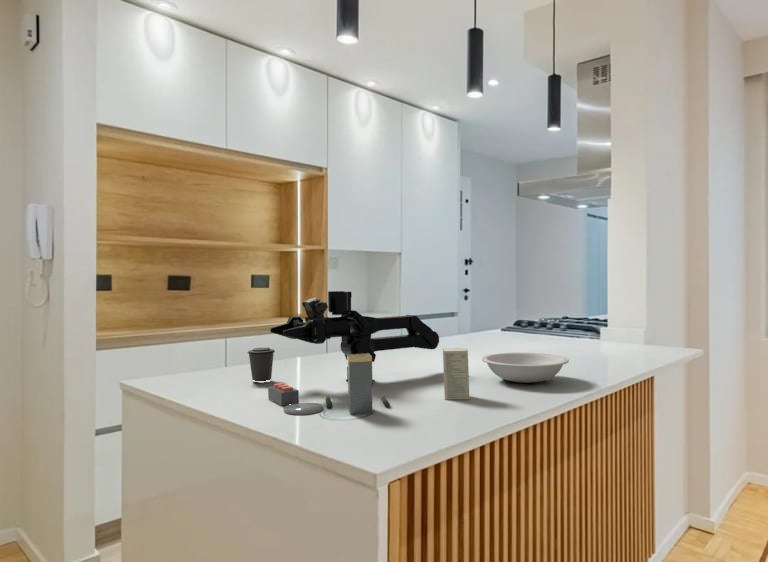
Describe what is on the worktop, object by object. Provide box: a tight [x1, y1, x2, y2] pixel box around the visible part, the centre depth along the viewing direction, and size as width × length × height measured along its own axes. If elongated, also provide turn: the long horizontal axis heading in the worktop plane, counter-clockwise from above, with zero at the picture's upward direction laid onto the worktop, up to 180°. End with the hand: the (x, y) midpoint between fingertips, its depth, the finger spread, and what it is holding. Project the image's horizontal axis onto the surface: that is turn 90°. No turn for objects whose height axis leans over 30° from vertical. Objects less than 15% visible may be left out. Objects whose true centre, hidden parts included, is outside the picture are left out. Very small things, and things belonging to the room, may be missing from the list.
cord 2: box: [380, 395, 391, 408], centre depth 125 cm, size 7×1×1 cm, turn 8°
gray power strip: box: [267, 382, 300, 407], centre depth 130 cm, size 9×4×4 cm, turn 33°
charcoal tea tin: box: [347, 354, 373, 416], centre depth 119 cm, size 5×5×13 cm
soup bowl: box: [481, 352, 569, 384], centre depth 149 cm, size 24×24×7 cm
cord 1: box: [325, 396, 332, 409], centre depth 125 cm, size 7×1×1 cm, turn 8°
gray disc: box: [283, 402, 324, 416], centre depth 121 cm, size 9×9×1 cm
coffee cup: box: [247, 347, 276, 381], centre depth 156 cm, size 8×8×10 cm
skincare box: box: [442, 347, 470, 400], centre depth 130 cm, size 6×4×12 cm
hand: (276, 331), depth 138 cm, fingers open, 9 cm apart
